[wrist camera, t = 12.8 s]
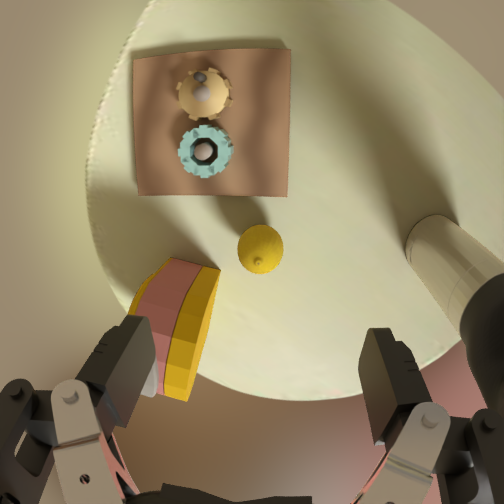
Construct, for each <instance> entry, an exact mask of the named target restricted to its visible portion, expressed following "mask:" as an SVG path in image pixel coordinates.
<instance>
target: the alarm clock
mask: <svg viewBox="0 0 504 504" xmlns="http://www.w3.org/2000/svg"><path fill="white" fill-rule="evenodd" d="M220 272H221V270H218V269H214V268H210V267H206V266H203V267H202V265H198V264H194V263H191V262H187V261H183V260H179V259H175V258H171V257H170V258H169V259H168V260H167V261H166V262H165V263H164V264H163V265H162V267H161V268H160V269H159V270H158V271H157V272H156V273H155V274H152V275H151V276H150V277H148V278H147V279H146V280H145V281H144V282H143V284H142V285H141V286H140V288H139V290H138V292H137V293H136V295H135V297H134V299H133V301H132V303H131V306H130V309H129V312H128V314H130V315H138V316H146V317H148V319H149V322H150V326H151V331H152V335H153V339H154V344H155V349H156V355H155V361H154V364H153V366H152V368H151V371H150V373H149V375H148V377H147V380H146V382H145V384H144V387H143V389H142V391H141V393H140V394H142V395H145V396H148V397H154V395H155V394H156V393H159V394H162V395H165V396H169V397H172V398H176V399H179V400H183V401H187V400H188V398H189V395H190V392H191V389H192V386H193V383H194V379H195V375H196V372H197V368H198V365H199V361H200V358H201V354H202V350H203V347H204V343H205V340H206V336H207V333H208V329H209V324H210V319H211V314H212V309H213V305H214V300H215V295H216V290H217V286H218V281H219V276H220ZM128 314H127V315H128Z"/></svg>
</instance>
